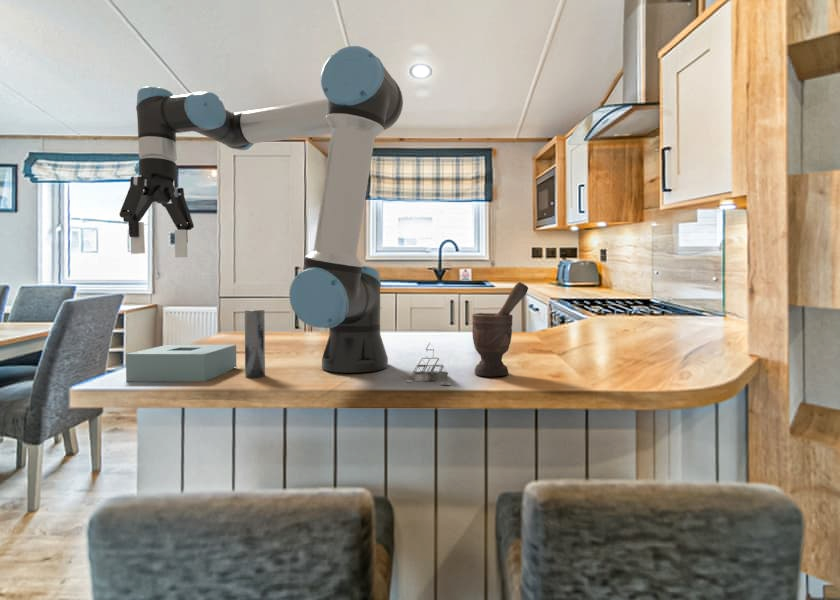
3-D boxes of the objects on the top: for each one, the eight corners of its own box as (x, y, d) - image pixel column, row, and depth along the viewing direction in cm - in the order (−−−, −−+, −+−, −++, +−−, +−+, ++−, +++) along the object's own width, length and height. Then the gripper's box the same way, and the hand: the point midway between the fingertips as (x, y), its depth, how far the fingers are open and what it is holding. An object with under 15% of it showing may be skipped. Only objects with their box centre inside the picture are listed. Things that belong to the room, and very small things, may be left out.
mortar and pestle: (523, 371, 110) (524, 282, 109) (529, 379, 101) (529, 281, 100) (471, 371, 111) (472, 282, 110) (472, 378, 102) (472, 282, 101)
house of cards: (406, 385, 96) (405, 346, 96) (404, 377, 104) (404, 341, 104) (451, 385, 96) (451, 346, 96) (446, 376, 105) (446, 341, 105)
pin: (268, 374, 106) (268, 310, 105) (258, 378, 102) (257, 311, 102) (252, 374, 107) (251, 309, 106) (241, 377, 103) (240, 310, 103)
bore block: (236, 368, 114) (236, 344, 114) (204, 381, 98) (204, 354, 98) (168, 368, 115) (168, 344, 115) (126, 381, 99) (125, 353, 99)
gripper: (180, 174, 123) (183, 259, 124) (96, 146, 99) (100, 252, 99) (207, 172, 122) (210, 258, 122) (129, 143, 97) (132, 250, 98)
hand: (160, 255), depth 111 cm, fingers open, 13 cm apart
